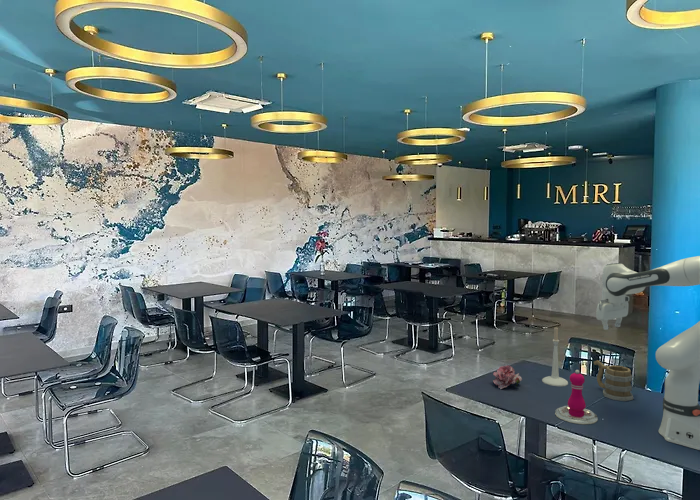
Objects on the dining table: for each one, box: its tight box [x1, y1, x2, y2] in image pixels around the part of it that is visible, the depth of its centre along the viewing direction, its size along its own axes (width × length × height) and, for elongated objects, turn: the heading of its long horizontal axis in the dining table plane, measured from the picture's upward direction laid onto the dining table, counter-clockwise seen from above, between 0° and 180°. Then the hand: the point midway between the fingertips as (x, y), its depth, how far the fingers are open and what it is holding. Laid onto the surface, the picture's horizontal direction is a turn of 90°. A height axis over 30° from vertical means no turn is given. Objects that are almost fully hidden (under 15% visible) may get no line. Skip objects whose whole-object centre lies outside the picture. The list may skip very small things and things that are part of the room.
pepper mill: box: [567, 369, 586, 417], centre depth 214 cm, size 7×7×20 cm
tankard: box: [593, 359, 634, 402], centre depth 242 cm, size 20×13×15 cm, turn 22°
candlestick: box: [541, 326, 569, 387], centre depth 259 cm, size 13×13×30 cm
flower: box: [492, 364, 523, 390], centre depth 254 cm, size 15×15×10 cm
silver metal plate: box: [554, 405, 599, 426], centre depth 215 cm, size 17×17×2 cm
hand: (611, 328), depth 223 cm, fingers open, 8 cm apart
